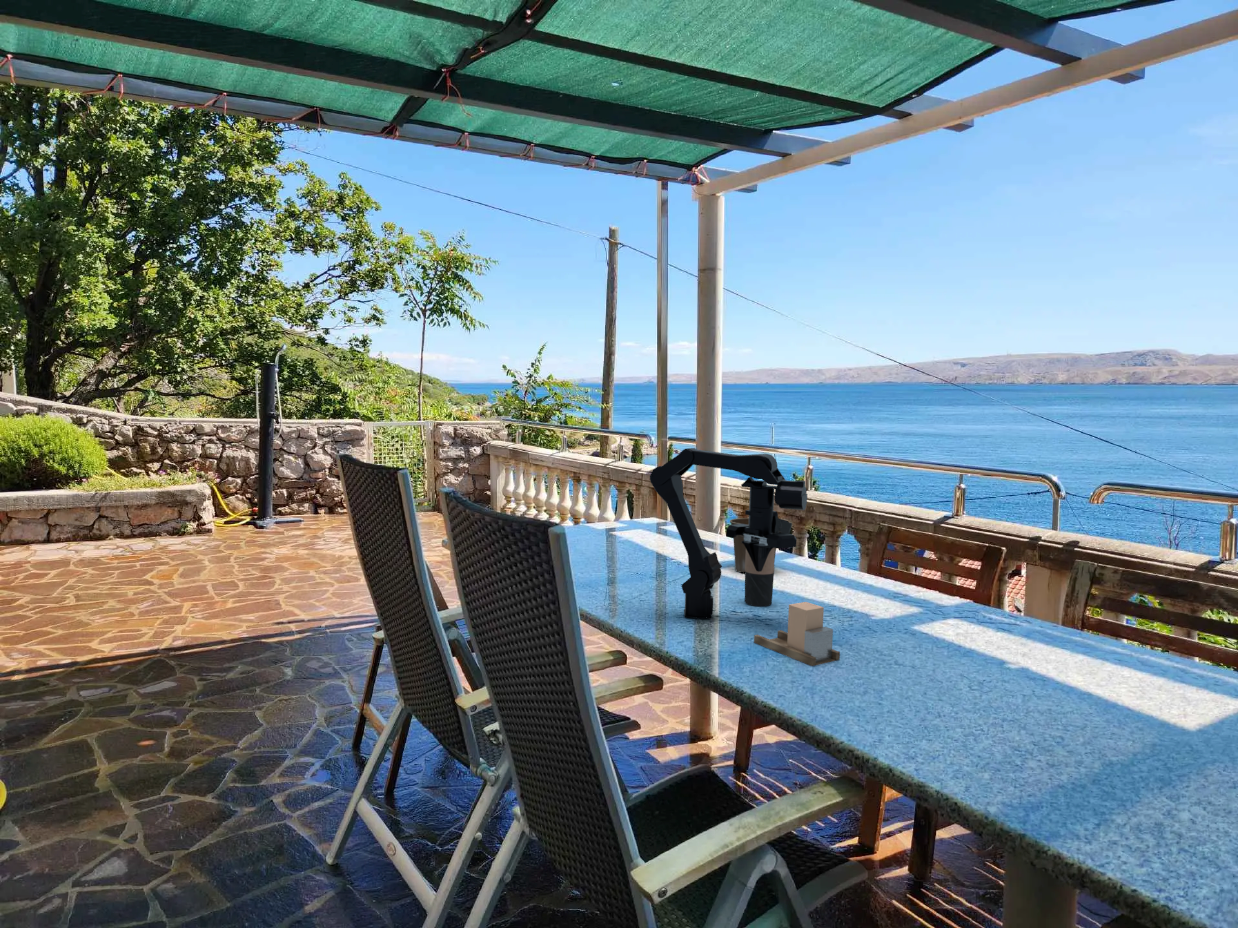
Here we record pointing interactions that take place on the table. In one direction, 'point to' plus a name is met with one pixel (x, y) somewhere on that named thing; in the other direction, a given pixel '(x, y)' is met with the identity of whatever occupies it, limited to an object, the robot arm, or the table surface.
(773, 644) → the rail
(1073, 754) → the table surface
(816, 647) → the grey square block
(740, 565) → the plant pot
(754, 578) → the travel mug
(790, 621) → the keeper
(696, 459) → the robot arm
